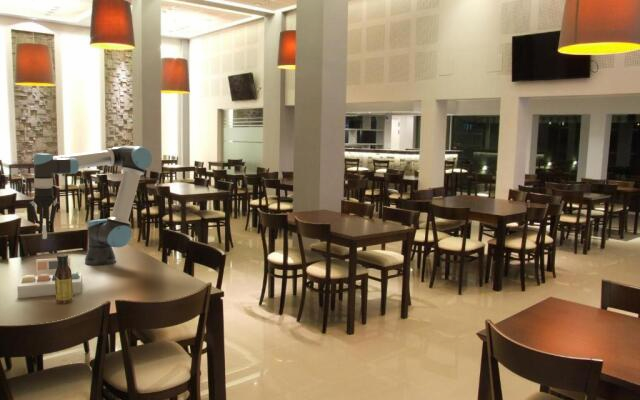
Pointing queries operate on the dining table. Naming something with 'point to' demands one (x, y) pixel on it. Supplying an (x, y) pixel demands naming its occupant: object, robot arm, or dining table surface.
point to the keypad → (45, 287)
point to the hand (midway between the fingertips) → (44, 238)
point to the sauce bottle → (63, 280)
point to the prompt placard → (47, 266)
